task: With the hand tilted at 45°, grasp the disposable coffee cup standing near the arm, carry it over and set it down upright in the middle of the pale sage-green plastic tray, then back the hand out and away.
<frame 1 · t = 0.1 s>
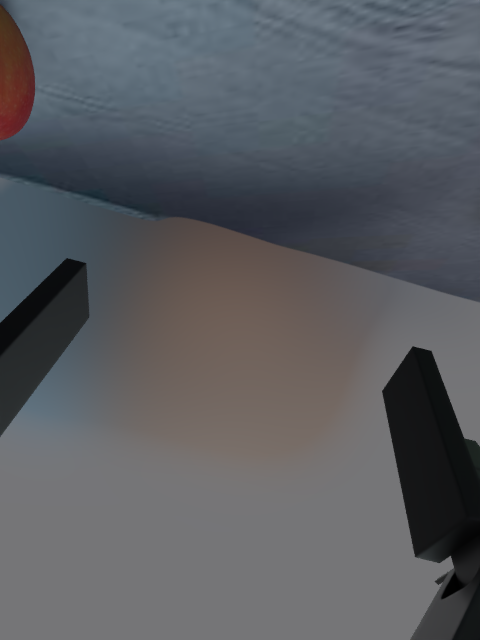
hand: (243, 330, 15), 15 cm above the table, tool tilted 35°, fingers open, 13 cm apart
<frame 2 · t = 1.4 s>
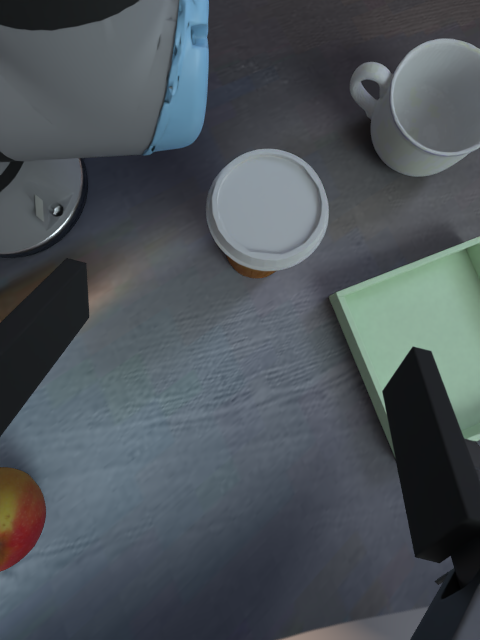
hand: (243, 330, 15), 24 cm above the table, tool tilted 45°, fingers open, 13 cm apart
disposable coffee cup: (255, 249, 40), on the table
tray: (432, 349, 40), on the table
apple: (21, 499, 37), on the table
teacup: (394, 137, 42), on the table
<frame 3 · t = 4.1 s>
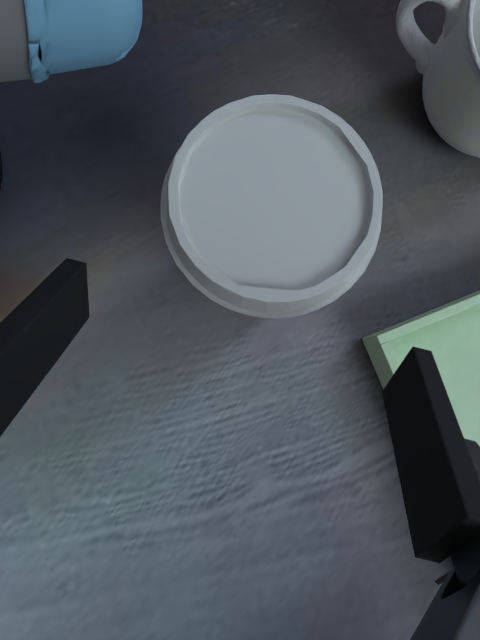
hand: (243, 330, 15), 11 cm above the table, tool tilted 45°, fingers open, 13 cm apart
disposable coffee cup: (252, 268, 27), on the table
teacup: (452, 103, 29), on the table
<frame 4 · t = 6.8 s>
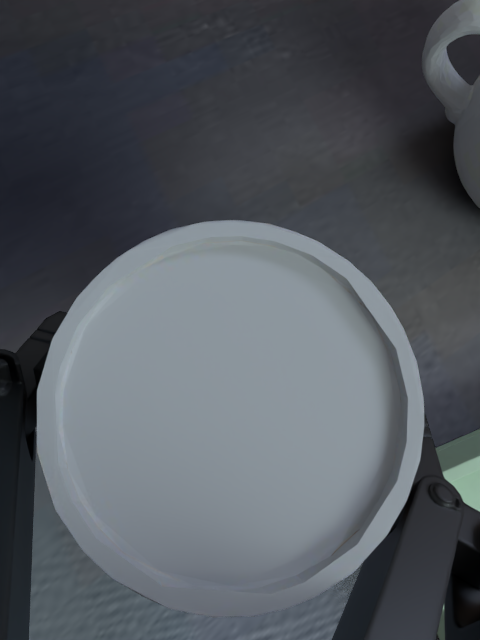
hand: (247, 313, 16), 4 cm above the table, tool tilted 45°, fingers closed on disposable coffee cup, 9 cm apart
disposable coffee cup: (227, 379, 21), on the table, touching gripper
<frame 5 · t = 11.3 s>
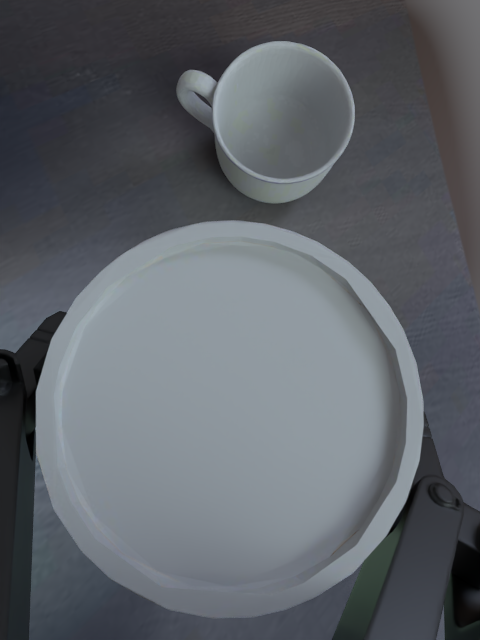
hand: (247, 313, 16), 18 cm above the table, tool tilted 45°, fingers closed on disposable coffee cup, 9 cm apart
disposable coffee cup: (227, 380, 21), point 14 cm above the table, touching gripper
teacup: (256, 155, 36), on the table
when the fingers open (5 cm above the table, at t = 16.3 s): disposable coffee cup stays where it is, resting on tray.
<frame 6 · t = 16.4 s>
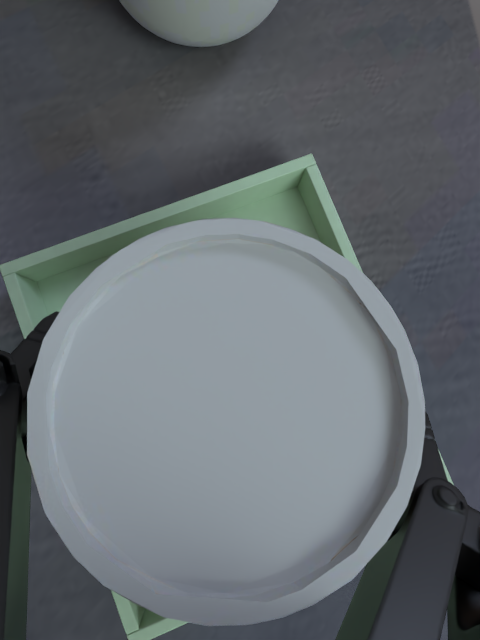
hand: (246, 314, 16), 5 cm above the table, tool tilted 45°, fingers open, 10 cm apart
disposable coffee cup: (226, 380, 20), resting on tray
tray: (227, 379, 21), on the table
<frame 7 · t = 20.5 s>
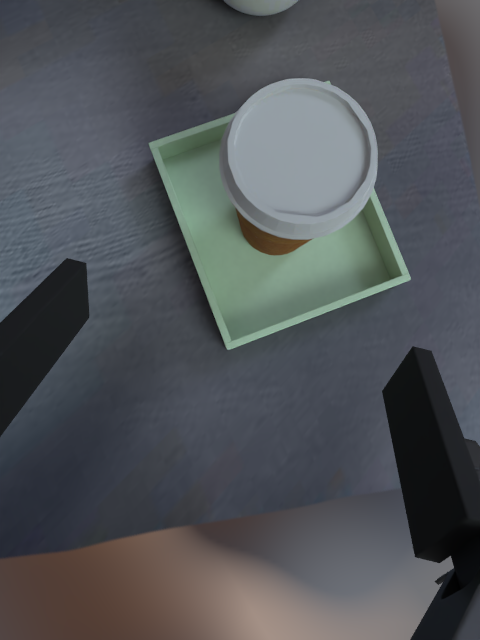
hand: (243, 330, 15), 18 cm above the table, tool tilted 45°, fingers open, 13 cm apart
disposable coffee cup: (275, 221, 34), resting on tray
tray: (275, 221, 34), on the table
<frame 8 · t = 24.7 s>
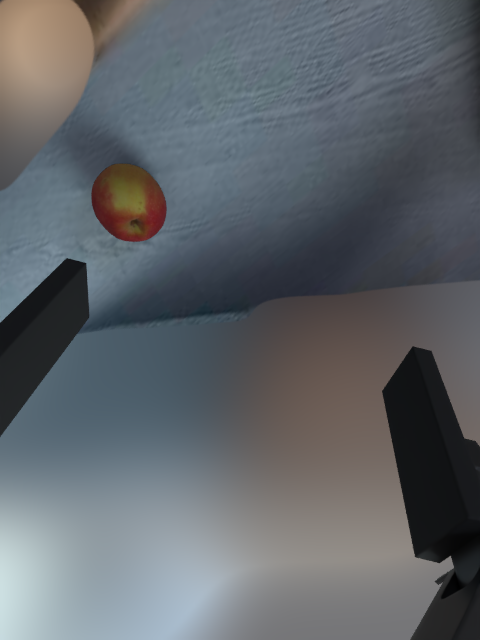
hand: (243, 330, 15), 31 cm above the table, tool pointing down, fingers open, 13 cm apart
apple: (143, 190, 45), on the table
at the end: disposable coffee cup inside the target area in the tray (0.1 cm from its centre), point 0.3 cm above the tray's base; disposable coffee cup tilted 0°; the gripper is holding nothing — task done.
